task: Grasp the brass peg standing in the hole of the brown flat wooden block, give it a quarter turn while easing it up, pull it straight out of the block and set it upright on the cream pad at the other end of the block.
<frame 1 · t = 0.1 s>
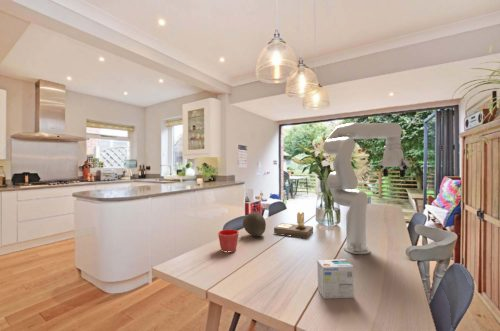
hand: (393, 176, 137), 37 cm above the table, tool pointing down, fingers open, 9 cm apart
brown flat wooden block: (293, 233, 154), on the table
brass peg: (301, 234, 151), resting in brown flat wooden block
light bulb box: (335, 294, 81), on the table
cantaloupe: (254, 236, 149), on the table
flower pot: (228, 250, 125), on the table
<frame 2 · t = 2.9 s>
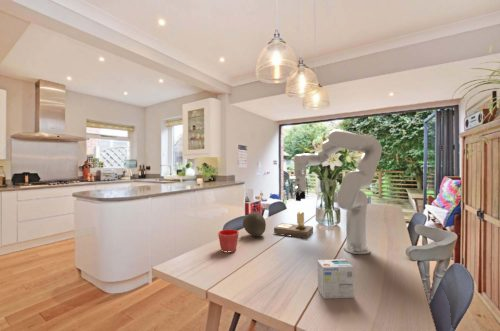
hand: (300, 199, 152), 22 cm above the table, tool pointing down, fingers open, 9 cm apart
nothing on the table moved.
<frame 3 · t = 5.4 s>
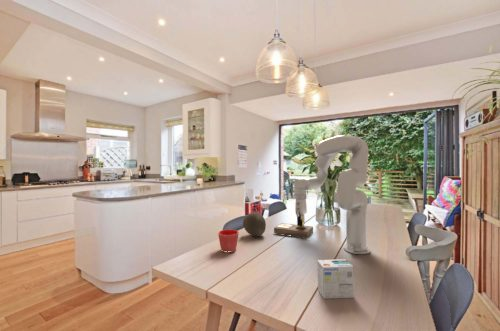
hand: (300, 224, 151), 6 cm above the table, tool pointing down, fingers closed on brass peg, 4 cm apart
brass peg: (301, 234, 151), resting in brown flat wooden block, touching gripper
everything else where it was.
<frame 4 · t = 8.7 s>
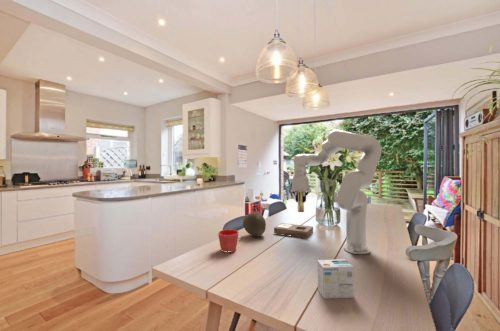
hand: (300, 201, 151), 21 cm above the table, tool pointing down, fingers closed on brass peg, 4 cm apart
brass peg: (300, 211, 151), point 15 cm above the table, touching gripper
everything else where it was.
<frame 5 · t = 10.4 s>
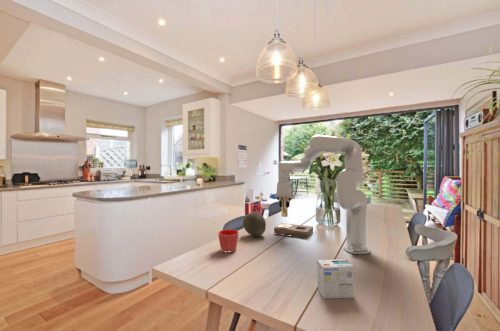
hand: (284, 206, 157), 17 cm above the table, tool pointing down, fingers closed on brass peg, 4 cm apart
brass peg: (284, 216, 157), point 11 cm above the table, touching gripper
everything else where it was.
when the fingers open (12 cm above the table, at t = 11.9 s): brass peg drops 2 cm, resting on brown flat wooden block.
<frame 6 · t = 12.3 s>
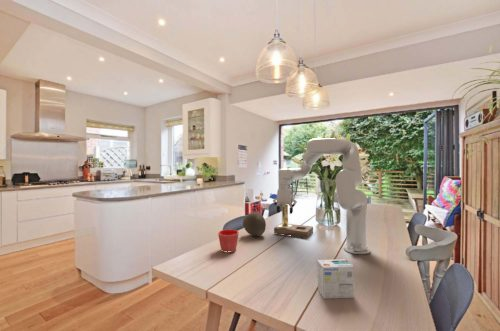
hand: (284, 212, 157), 13 cm above the table, tool pointing down, fingers open, 8 cm apart
brass peg: (285, 225, 157), point 4 cm above the table, touching brown flat wooden block
everything else where it was.
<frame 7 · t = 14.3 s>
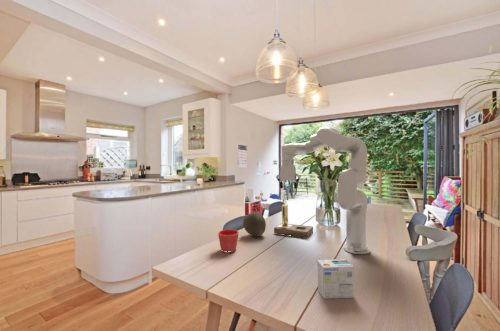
hand: (288, 188, 157), 29 cm above the table, tool pointing down, fingers open, 9 cm apart
nothing on the table moved.
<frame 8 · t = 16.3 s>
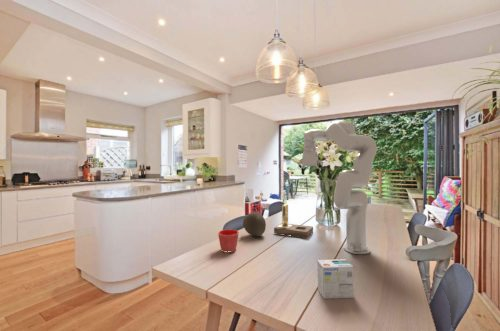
hand: (310, 174, 158), 38 cm above the table, tool pointing down, fingers open, 9 cm apart
nothing on the table moved.
at the end: brass peg inside the target area on the brown flat wooden block (0.1 cm from its centre), point 4.3 cm above the brown flat wooden block's base; brass peg tilted 1°; the gripper is holding nothing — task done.
